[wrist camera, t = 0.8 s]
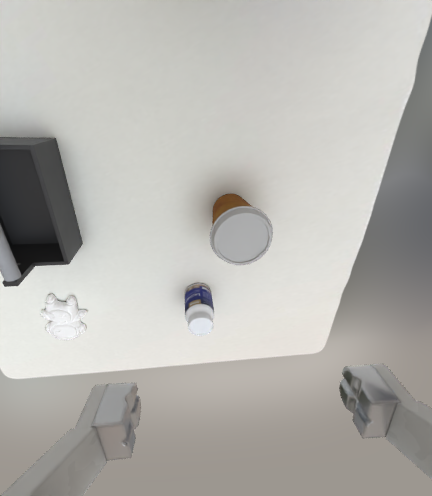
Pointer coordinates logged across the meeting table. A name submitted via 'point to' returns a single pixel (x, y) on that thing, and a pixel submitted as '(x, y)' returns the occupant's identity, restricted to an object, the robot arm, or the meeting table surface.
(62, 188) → the black bin
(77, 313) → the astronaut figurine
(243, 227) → the disposable coffee cup
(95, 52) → the meeting table surface
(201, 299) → the pill bottle
